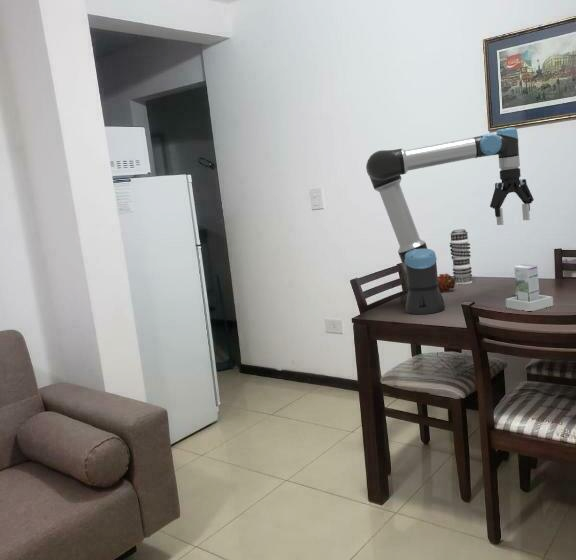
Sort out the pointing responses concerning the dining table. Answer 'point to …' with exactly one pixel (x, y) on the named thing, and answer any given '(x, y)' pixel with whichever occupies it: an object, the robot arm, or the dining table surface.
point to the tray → (529, 303)
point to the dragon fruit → (445, 282)
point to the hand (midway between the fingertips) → (513, 222)
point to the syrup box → (527, 282)
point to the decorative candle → (461, 257)
